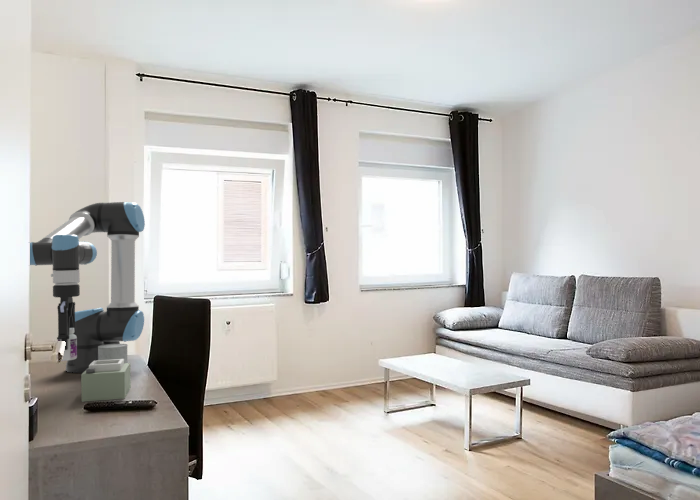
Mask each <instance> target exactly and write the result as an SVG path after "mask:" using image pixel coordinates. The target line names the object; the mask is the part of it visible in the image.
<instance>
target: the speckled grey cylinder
mask: <svg viewBox="0 0 700 500" xmlns="http://www.w3.org/2000/svg"><path fill="white" fill-rule="evenodd" d="M128 346H129V345H128V344H127V343H120V344H107V345H101V346H98V360H113V359H124V363H129V362H128V361H129V360H128Z"/></svg>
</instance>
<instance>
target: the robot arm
mask: <svg viewBox="0 0 700 500" xmlns="http://www.w3.org/2000/svg"><path fill="white" fill-rule="evenodd" d="M145 226H146V224H145V215H144V212H143V210H142V207H141V206H140V205H139V204H138V203H137V202H130V201H128V202H127V201H122V202H121V201H119V202H115V201H114V202H95V203H92V204H89V205H87V206H84V207H82V208H80V209H78V210H76V211H75V212H73V213H72V214H71V215H70V217H69V218H68V220H67V221H65V222H64V223H63V224H61V225H59V227H57V228H56V229H54V230H53V231H51V232H49V233H48V234H47V235H45V236H44V237H43V238H41V239H40V240H38V241H36V242H34V241H31V242H29V243H30V265H29V266H52V273H51V274H50V277H51V278H52V284H54V285H53V286H52V296H53V297H54V298H59V303H58V305H57V307H56V309H57V322H58V324H57V330H58V331H57V334H58V335H57V337H56V340H57V341H58V340H59V339H60V341H65V342H66V346H65V351H64V356H63V359H62V360H61V361H62V362H63V361H64V360H68V361H66V363H65V372H66V371H67V373H72V372H73V373H74V374H75V373H76V374H77V373H80V374H82V373H83V372H84V371H85V370H86V369H88V368H89V365H90V364H91V363H92V362H93V361H96V360H98V346H101V345H103V342H112V341H120V342H123V343H125V342H134V341H137V340H138V339H139V338H140V337H141V335H142V333H143V330H144V326H145V315H144V312H143V311H142V310H139V307H140V306H139V305H138V303H136V301H135V300H136V299H135V295H136V294H135V292H136V291H135V290H136V289H135V286H136V285H135V284H136V283H135V279H136V278H135V277H136V266H135V265H136V264H135V263H136V261H135V259H136V251H135V250H136V240H138V238H140V233H141V232H144V229H145ZM93 233H107V234H106V236H107V238H108V239H109V240H110V241H111V249H110V250H111V251H110V253H111V259H110V262H111V263H110V267H111V269H110V272H111V273H110V303H109V304H108V305H107V306H106V310H105V311H104V308H103V307H98V308H90V309H85V310H84V309H83V310H78V311H76V302H75V301H74V299H73V298H75V297H79V296H80V287H81V286H80V279H81V278H80V265H88V264H92V263H93V262H94V261H95V260H96V258H97V254H98V251H97V250H98V249H97V248H96V246H95V245H94V244H93V243H91V242H89V241H85V240H84V241H80V239H81V238H82V237H86V236H88V235H91V234H93ZM69 328H74V331H75V332H74V333H73V334H75V335H76V336H77V358H76V359H74V360H71V358H70V339H69Z"/></svg>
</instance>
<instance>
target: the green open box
mask: <svg viewBox="0 0 700 500" xmlns="http://www.w3.org/2000/svg"><path fill="white" fill-rule="evenodd" d="M80 374H81V375H80V376H81V381H80V383H81V385H80V386H81V389H80V390H81V402H83V403H84V402H94V401H95V402H96V401H97V402H98V401H108V400H109V401H110V400H122V399H123V400H124V399H126V397H127V396H128V394H129V391H130V389H131V387H132V386H131V383H132V382H131V381H132V380H131V362H128V363H124V359H113V360H96V361H93V362H92V363H91V364H90V365H89V368H88V369H86V370H85V371H84V372H82V373H80Z"/></svg>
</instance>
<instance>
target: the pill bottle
mask: <svg viewBox="0 0 700 500" xmlns="http://www.w3.org/2000/svg"><path fill="white" fill-rule="evenodd" d="M74 332H75V331H74V328H69V339H70V358H71V360H74V359H76V358H77V336H76V335H75V334H73V333H74ZM58 341H60V339H59V340H57V342H58ZM64 361H65V362H67V361H68V360H64Z"/></svg>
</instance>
